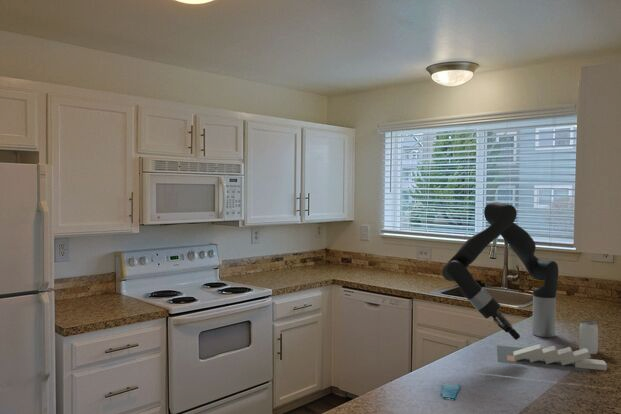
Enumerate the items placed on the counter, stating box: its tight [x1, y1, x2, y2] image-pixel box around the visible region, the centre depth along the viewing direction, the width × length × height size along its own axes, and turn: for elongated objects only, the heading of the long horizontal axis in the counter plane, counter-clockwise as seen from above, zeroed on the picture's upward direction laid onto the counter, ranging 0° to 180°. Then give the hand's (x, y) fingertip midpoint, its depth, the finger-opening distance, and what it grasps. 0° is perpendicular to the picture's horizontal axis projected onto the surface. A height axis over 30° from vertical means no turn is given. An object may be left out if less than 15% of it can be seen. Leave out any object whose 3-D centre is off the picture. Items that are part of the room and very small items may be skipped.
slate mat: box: [496, 344, 590, 373], centre depth 196 cm, size 22×30×1 cm
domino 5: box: [573, 358, 608, 371], centre depth 186 cm, size 5×2×10 cm
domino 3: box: [544, 346, 574, 364], centre depth 189 cm, size 5×2×10 cm
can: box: [578, 320, 599, 355], centre depth 204 cm, size 6×6×12 cm
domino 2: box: [529, 345, 558, 362], centre depth 191 cm, size 5×2×10 cm
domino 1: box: [513, 343, 543, 361], centre depth 192 cm, size 5×2×10 cm
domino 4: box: [560, 348, 592, 365], centre depth 187 cm, size 5×2×10 cm
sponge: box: [440, 383, 461, 400], centre depth 162 cm, size 2×12×6 cm
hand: (518, 338), depth 193 cm, fingers closed
